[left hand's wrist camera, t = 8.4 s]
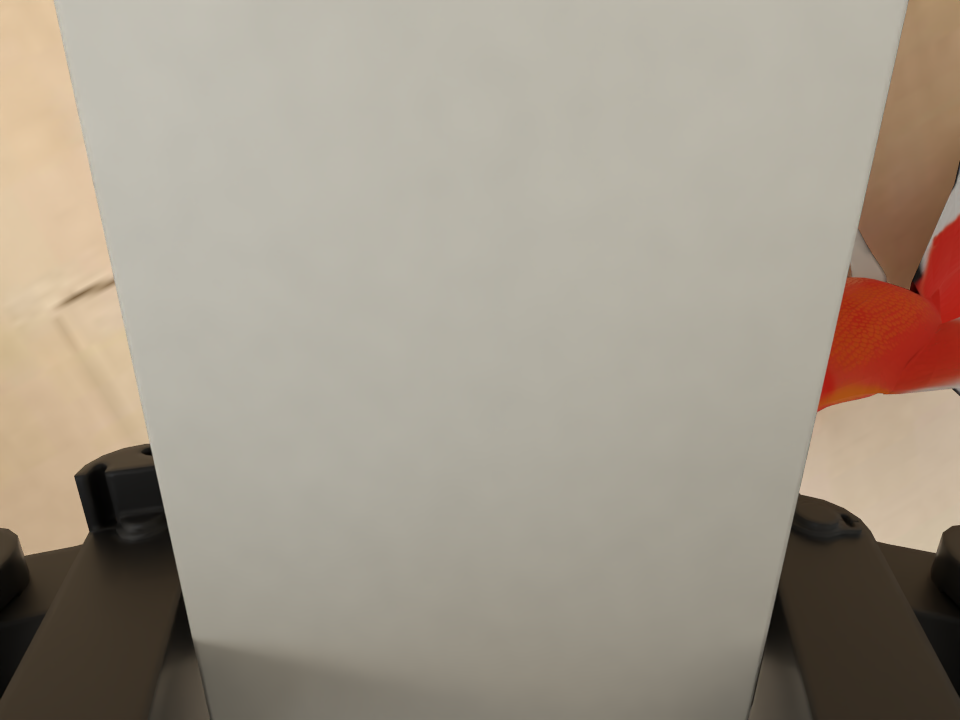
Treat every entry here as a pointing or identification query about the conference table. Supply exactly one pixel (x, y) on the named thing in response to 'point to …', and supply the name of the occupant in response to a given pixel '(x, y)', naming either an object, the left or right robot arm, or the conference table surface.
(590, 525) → the bar
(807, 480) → the conference table surface
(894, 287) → the fish
